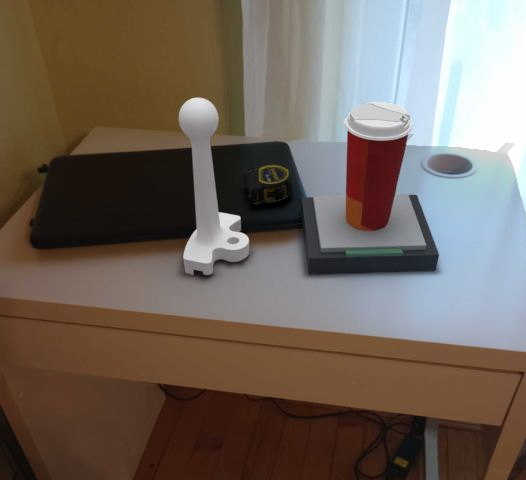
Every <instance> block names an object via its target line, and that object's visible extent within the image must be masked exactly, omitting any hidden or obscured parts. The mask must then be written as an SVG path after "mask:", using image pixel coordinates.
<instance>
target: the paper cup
mask: <svg viewBox="0 0 526 480" xmlns="http://www.w3.org/2000/svg"><path fill="white" fill-rule="evenodd" d="M343 125H344V127H345V129H346V130H347V132H346V136H347V137H346V171H345V174H346V175H345V177H346V178H345V195H346V220H347V222H348V224H349V225H351V226H352V227H354V228H356V229H359V230H364V231H375V230H379V229H382V228H384V227H385V226H386V225H387V224H388V222H389V218H390V215H391V210H392V206H393V202H394V197H395V194H396V193H397V188H398V187H397V186H398V182H399V178H400V174H401V171H402V170H401V169H402V166H403V161H404V157H405V154H406V153H405V152H406V147H407V142H408V138H409V134H410V133H411V132H412V130H413V124H412V121H411V116H410V113H409V110H407V109H406V108H404V107H403V106H401V105H398V104H397V103H396V104H395V103H393V102H387V101H367V102H364V103H360V104H357V105H355V106H354V107H353V108H352V109H351V110H350V111H349V112H348V113H347V117H345V119H344V120H343Z"/></svg>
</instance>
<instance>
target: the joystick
mask: <svg viewBox="0 0 526 480" xmlns="http://www.w3.org/2000/svg"><path fill="white" fill-rule="evenodd" d="M178 125H179V128H180V129H181V131H182V132H183V134H184V135H186V137H187V138H188V139H189V141H190V144H191V145H190V146H191V156H192V175H193V188H194V189H193V190H194V207H195V225H196V229H195V230H194V231H193V232H192V234H191V235H190V237H189V239H188V241H187V242H186V245H185V247H184V251H183V256H182V257H183V265H184V272H185V273H186V274H188V275H192V276H194V275H195V271H199V272H202V275H205V276H209V275H213V273H214V264H215V262H216V261H219V260H223V261H226V262H228V263H238V262H241V261H243V260H245V259H247V257H248V256H249V255H250V239H249V236H248V235H247V234H245V233H243V232H241V231H242V219H241V216H240V215H237V214H233V213H227V212H220V211H219V205H218V198H217V197H218V196H217V189H216V188H217V187H216V180H215V171H214V164H213V154H212V145H211V138H212V136H213V135H214V134H215V132H216V131H217V129H218V126H219V113H218V110H217V108H216V106H215V104H213V103H212V102H211V101H210V100H208V99H207V98H203V97H192V98H190V99H188V100H186V101H185V102H184V103H183V104H182V106H181V107H180V108H179V112H178Z"/></svg>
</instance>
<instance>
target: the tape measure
mask: <svg viewBox="0 0 526 480" xmlns="http://www.w3.org/2000/svg"><path fill="white" fill-rule="evenodd" d="M242 175H243V176H242V177H243V182H244V185H245V187H246V189H247V192H248V193H247V194H248V203H251V202H252V203H255V202H261V201H263V200H264V201H266V200H279V199H282V198H284V196H287V195H288V194H289V193H291V194H292V192H293V189H294V180H293V174H292V173H291V171H290V169H288V168H287V167H286V166H284V165H282V164H278V163H263V164H259V165H256V166H252V167H248V168H247V169H244V170H243V174H242ZM291 194H290V195H289V197H290V196H291ZM289 197H286V198H285V199H283V200H280V201H276V202H262V203H259V204H252V203H251V204H252V205H253V206H261V205H263V204H278V203H281V202H283V201H285V200H287V199H288V198H289Z"/></svg>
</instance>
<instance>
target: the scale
mask: <svg viewBox="0 0 526 480" xmlns="http://www.w3.org/2000/svg"><path fill="white" fill-rule="evenodd" d="M301 205H302V209H301V208H300V215H301V216H300V217H301V222H302V224H301V225H302V232H303V233H302V234H303V240H304V249H305V258H306V266H307V273H308V275H309V274H310V275H311V274H345V273H346V274H348V273H349V274H351V273H385V272H386V273H388V272H389V273H390V272H391V273H392V272H425V271H426V272H427V271H436V270H437V266H438V263H439V258H440V254H439V250H438V248H437V245H436V242H435V239H434V236H433V234H432V232H431V229H430V227H429V223H428V221H427V219H426V216H425V212H424V210H423V207H422V204H421V202H420V199H419V197H418V194H409V193H395V197H394V202H393V206H392V210H391V215H390V218H389V222H388V224H387V225H386V226H385V227H384V228H382V229H379V230H375V231H364V230H359V229H356V228H354V227H352V226H351V225H349V224H348V222H347V220H346V194H344V195H340V194H339V195H313V196H310V197H304V196H303V197H301V201H300V206H301ZM302 212H303V217H302Z"/></svg>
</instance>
